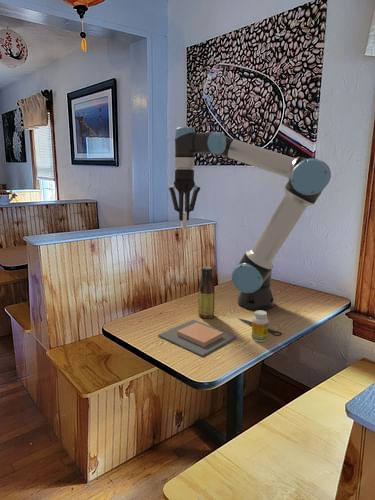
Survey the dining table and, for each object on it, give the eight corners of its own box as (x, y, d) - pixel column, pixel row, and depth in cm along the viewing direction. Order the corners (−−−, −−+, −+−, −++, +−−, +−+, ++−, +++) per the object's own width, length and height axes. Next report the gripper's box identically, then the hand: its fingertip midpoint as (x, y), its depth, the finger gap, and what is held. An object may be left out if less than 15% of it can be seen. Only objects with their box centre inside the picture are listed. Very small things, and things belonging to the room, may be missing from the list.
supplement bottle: (254, 333, 129) (255, 308, 127) (269, 337, 127) (271, 311, 124) (249, 340, 124) (250, 313, 122) (264, 343, 122) (266, 316, 120)
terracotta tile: (177, 331, 125) (203, 342, 117) (196, 322, 132) (223, 332, 124) (177, 335, 126) (203, 347, 118) (196, 326, 133) (222, 337, 125)
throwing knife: (277, 338, 127) (277, 336, 126) (232, 320, 141) (233, 318, 141) (284, 334, 130) (284, 333, 129) (240, 317, 144) (240, 315, 144)
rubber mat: (158, 336, 126) (158, 334, 126) (193, 320, 139) (193, 319, 139) (202, 356, 113) (202, 355, 113) (236, 337, 126) (236, 336, 126)
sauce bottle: (203, 311, 148) (205, 264, 144) (217, 315, 145) (218, 266, 140) (194, 316, 143) (195, 267, 138) (208, 320, 139) (209, 270, 135)
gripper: (197, 168, 149) (196, 226, 154) (166, 168, 145) (165, 227, 151) (203, 169, 142) (202, 229, 147) (170, 168, 138) (170, 230, 144)
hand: (183, 228), depth 149 cm, fingers closed
